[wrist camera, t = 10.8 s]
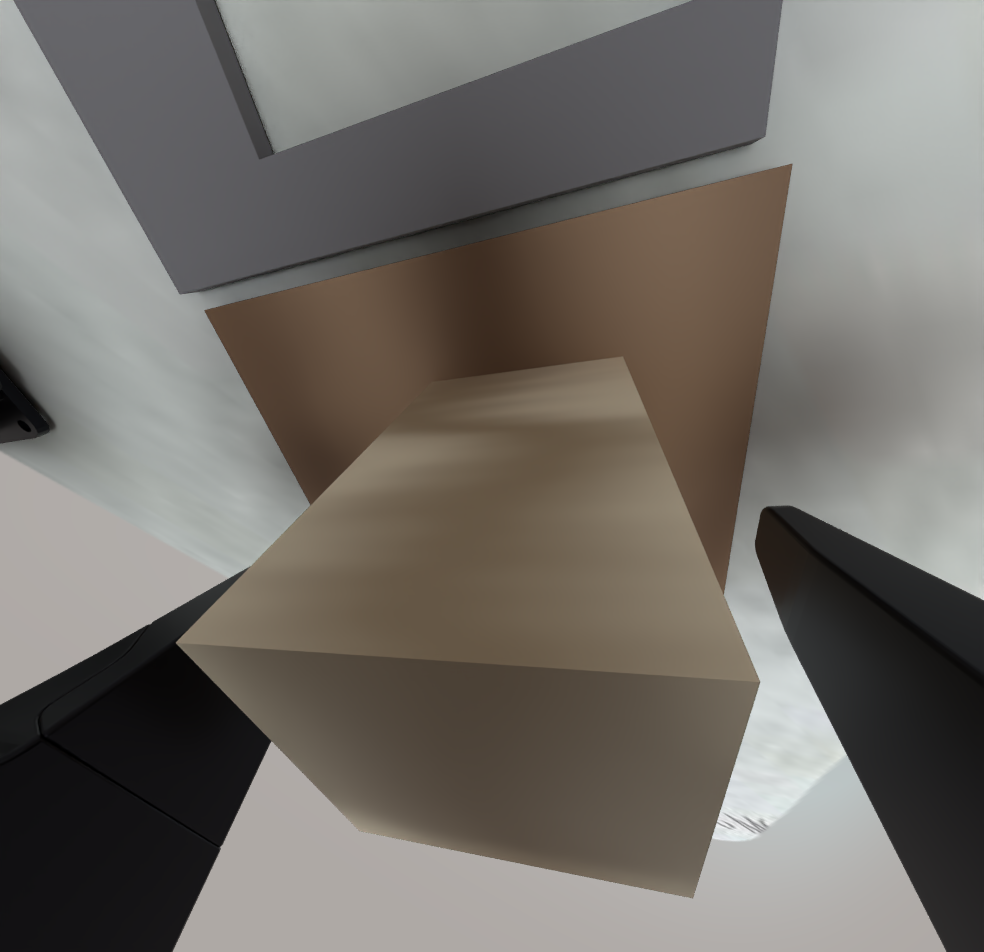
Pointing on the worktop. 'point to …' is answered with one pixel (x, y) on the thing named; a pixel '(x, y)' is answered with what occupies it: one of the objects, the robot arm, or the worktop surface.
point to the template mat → (388, 129)
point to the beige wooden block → (501, 635)
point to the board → (538, 333)
